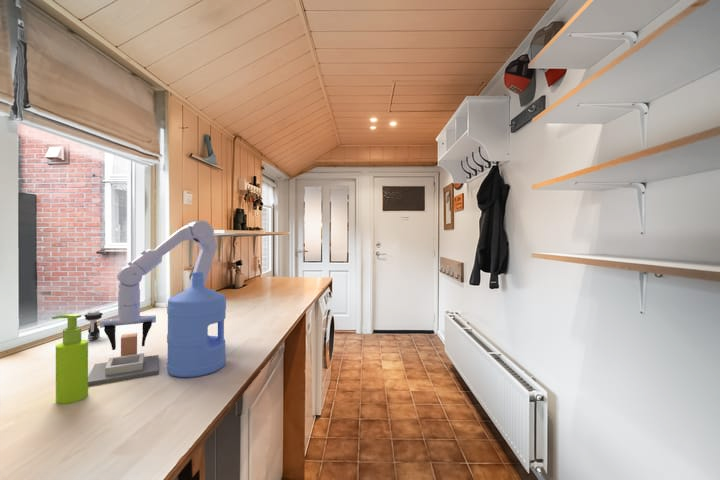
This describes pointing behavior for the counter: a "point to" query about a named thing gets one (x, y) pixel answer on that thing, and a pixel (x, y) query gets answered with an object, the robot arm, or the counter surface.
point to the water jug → (195, 330)
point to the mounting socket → (123, 368)
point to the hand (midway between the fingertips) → (128, 347)
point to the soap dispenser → (71, 363)
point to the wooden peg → (129, 344)
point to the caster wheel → (93, 324)
